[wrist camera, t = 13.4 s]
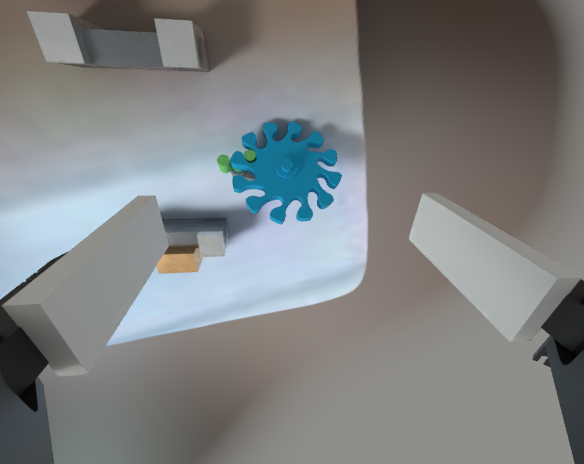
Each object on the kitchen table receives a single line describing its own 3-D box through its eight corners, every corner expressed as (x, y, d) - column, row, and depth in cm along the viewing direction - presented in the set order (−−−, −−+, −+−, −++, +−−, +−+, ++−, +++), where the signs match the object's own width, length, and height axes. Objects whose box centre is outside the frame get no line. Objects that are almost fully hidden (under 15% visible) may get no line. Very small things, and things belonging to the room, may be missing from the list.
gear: (349, 129, 23) (337, 229, 20) (332, 163, 28) (320, 245, 25) (231, 102, 22) (201, 203, 19) (238, 143, 28) (215, 225, 25)
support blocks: (145, 253, 29) (128, 274, 25) (68, 25, 18) (23, 9, 15) (230, 250, 30) (226, 270, 26) (204, 32, 19) (191, 19, 16)
